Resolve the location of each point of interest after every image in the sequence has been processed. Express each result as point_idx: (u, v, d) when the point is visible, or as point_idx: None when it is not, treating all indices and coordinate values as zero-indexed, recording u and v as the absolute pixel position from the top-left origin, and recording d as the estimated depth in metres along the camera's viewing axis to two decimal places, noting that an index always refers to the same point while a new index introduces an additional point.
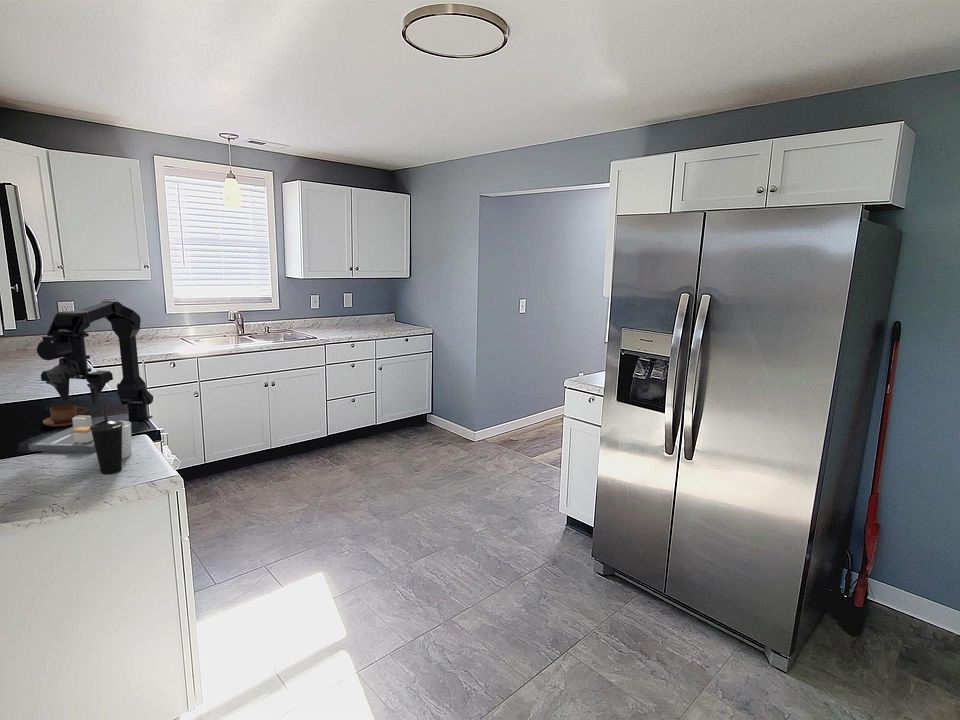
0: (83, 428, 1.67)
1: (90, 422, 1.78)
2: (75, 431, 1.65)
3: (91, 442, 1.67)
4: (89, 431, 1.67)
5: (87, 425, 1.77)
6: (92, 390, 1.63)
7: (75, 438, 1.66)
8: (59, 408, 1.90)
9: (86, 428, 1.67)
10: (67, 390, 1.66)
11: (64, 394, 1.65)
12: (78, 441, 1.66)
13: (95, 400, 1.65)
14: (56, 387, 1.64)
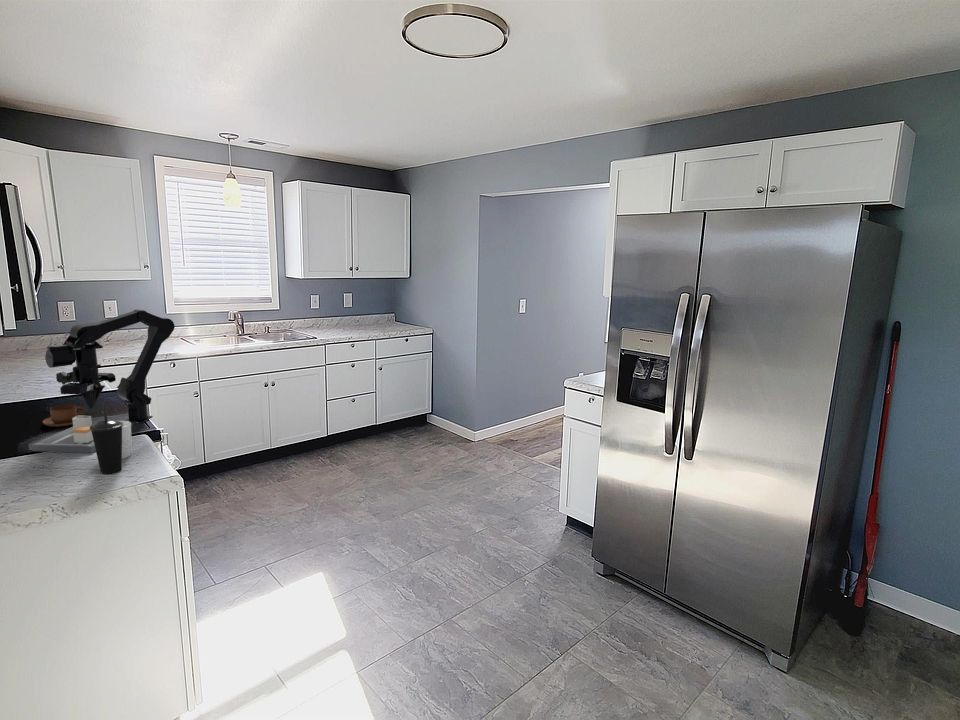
0: (83, 428, 1.67)
1: (90, 422, 1.78)
2: (75, 431, 1.65)
3: (91, 442, 1.67)
4: (89, 431, 1.67)
5: (87, 425, 1.77)
6: None
7: (75, 438, 1.66)
8: (59, 408, 1.90)
9: (86, 428, 1.67)
10: None
11: None
12: (78, 441, 1.66)
13: (89, 405, 1.81)
14: None
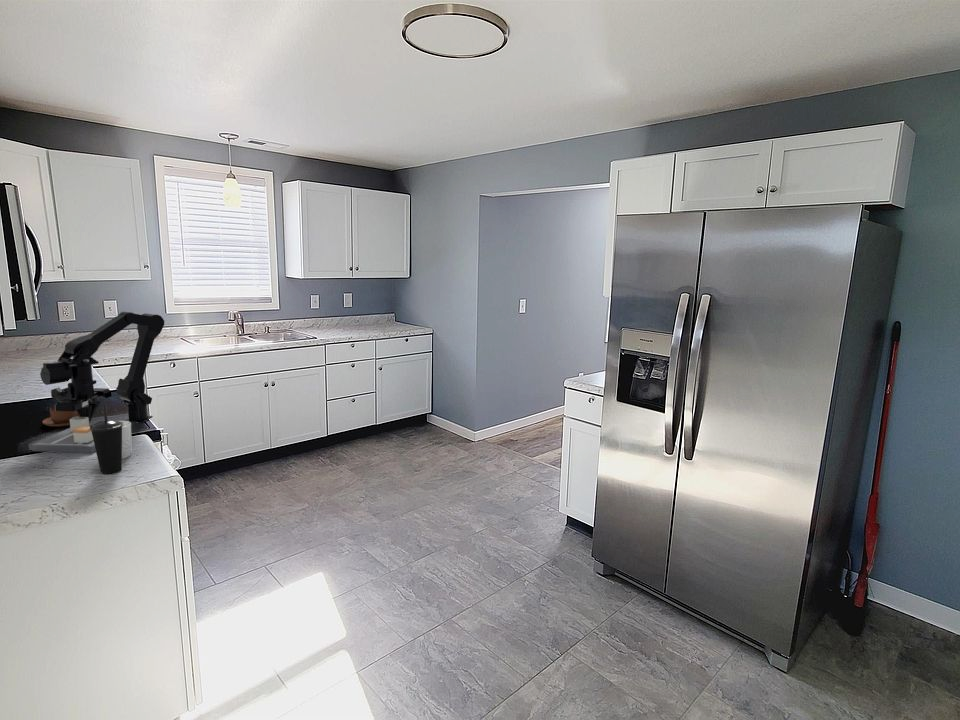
0: (83, 428, 1.67)
1: (87, 423, 1.77)
2: (75, 431, 1.65)
3: (91, 442, 1.67)
4: (89, 431, 1.67)
5: (84, 426, 1.76)
6: None
7: (75, 438, 1.66)
8: None
9: (86, 428, 1.67)
10: None
11: None
12: (78, 441, 1.66)
13: None
14: None
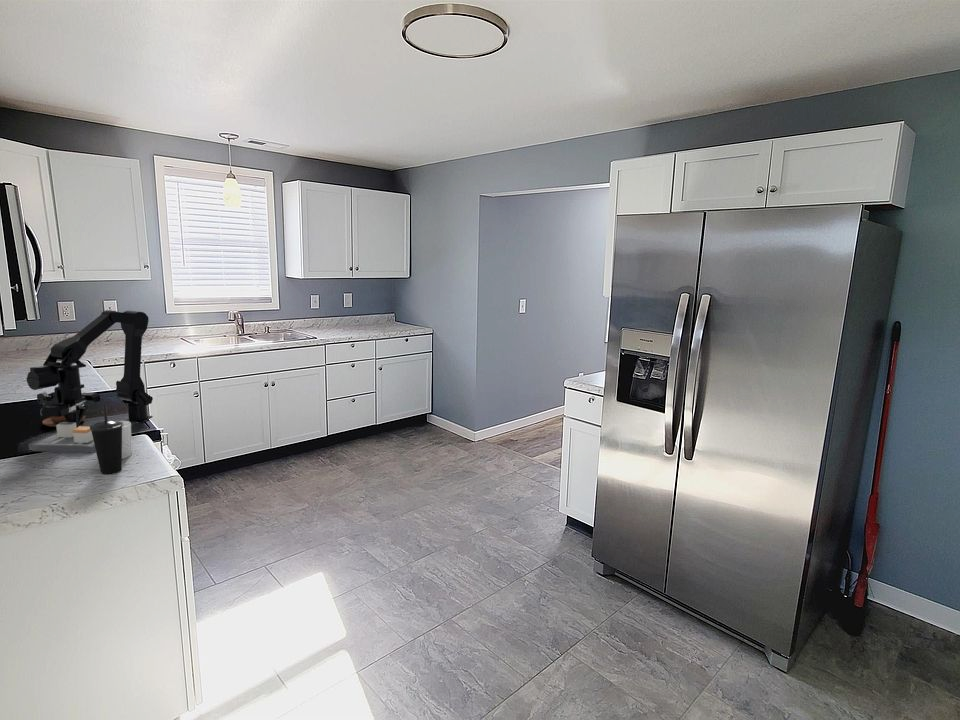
0: (83, 428, 1.67)
1: None
2: (75, 431, 1.65)
3: (91, 442, 1.67)
4: (89, 431, 1.67)
5: (72, 432, 1.70)
6: None
7: (75, 438, 1.66)
8: None
9: (86, 428, 1.67)
10: None
11: None
12: (78, 441, 1.66)
13: None
14: None
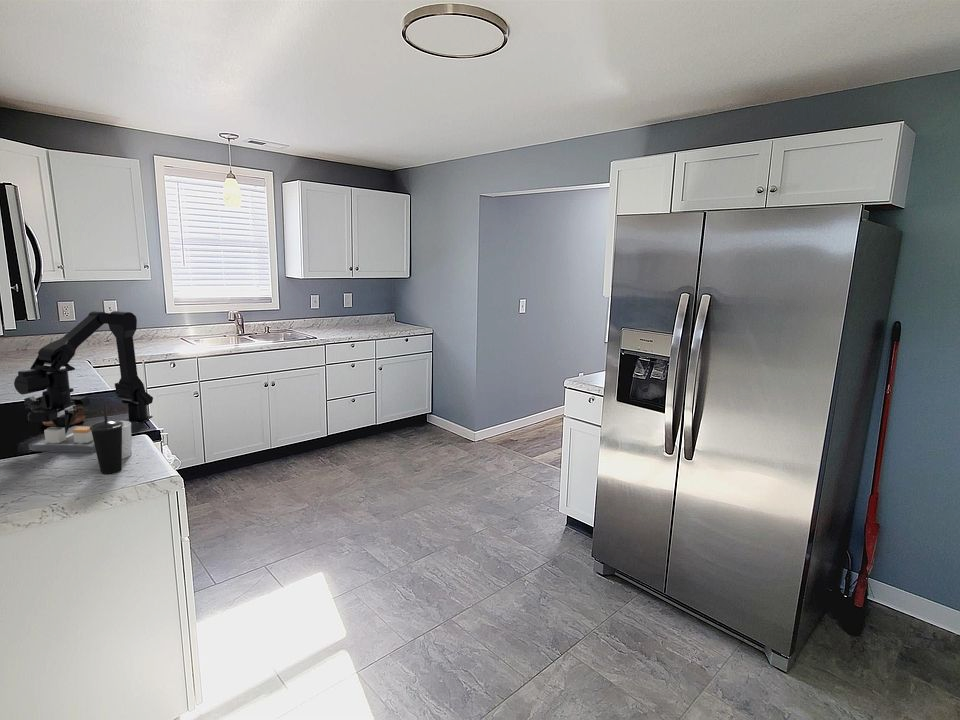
0: (83, 428, 1.67)
1: (64, 434, 1.67)
2: (75, 431, 1.65)
3: (91, 442, 1.67)
4: (89, 431, 1.67)
5: (60, 437, 1.65)
6: None
7: (75, 438, 1.66)
8: None
9: (86, 428, 1.67)
10: None
11: None
12: (78, 441, 1.66)
13: None
14: None
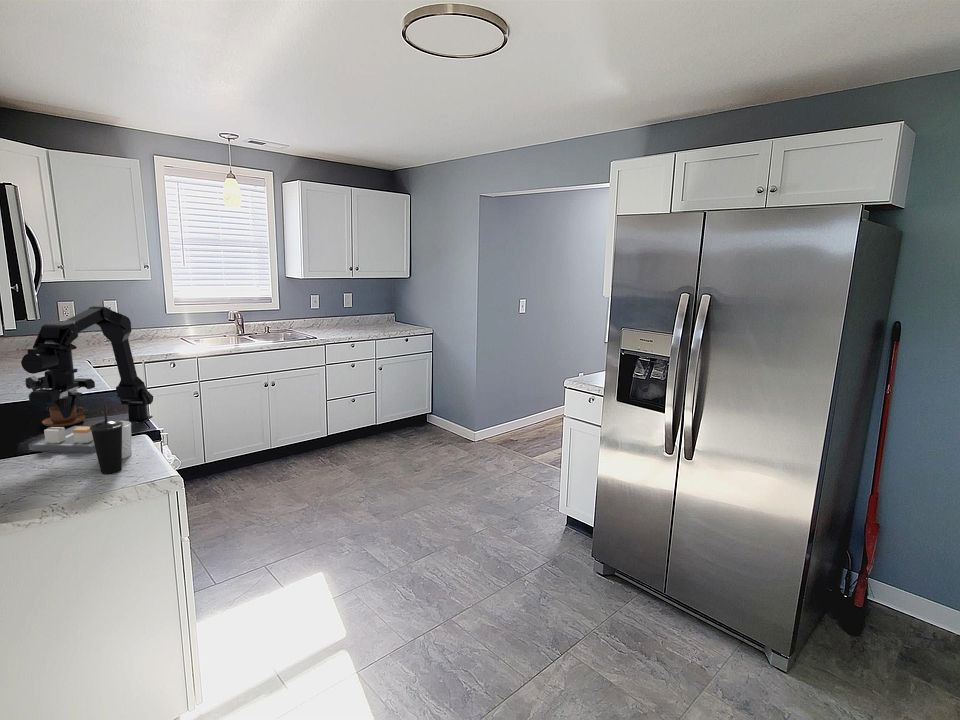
0: (83, 428, 1.67)
1: (64, 434, 1.67)
2: (75, 431, 1.65)
3: (91, 442, 1.67)
4: (89, 431, 1.67)
5: (60, 437, 1.65)
6: None
7: (75, 438, 1.66)
8: None
9: (86, 428, 1.67)
10: None
11: None
12: (78, 441, 1.66)
13: (63, 414, 1.59)
14: None
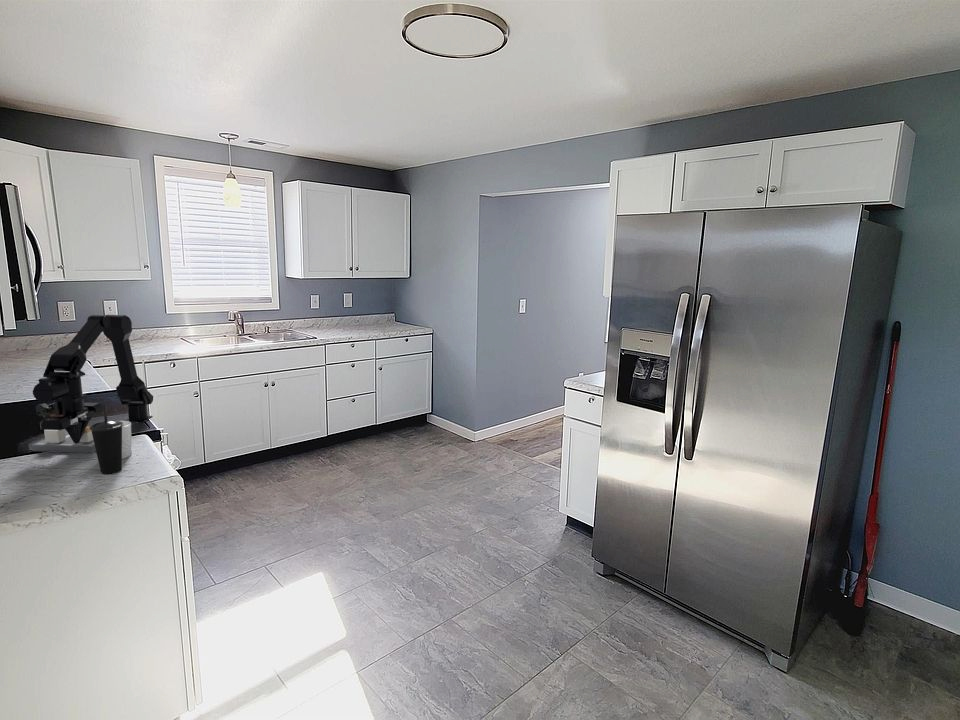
0: None
1: (64, 434, 1.67)
2: None
3: (91, 442, 1.67)
4: (90, 431, 1.67)
5: (60, 437, 1.65)
6: None
7: None
8: None
9: (87, 428, 1.67)
10: None
11: None
12: (79, 441, 1.66)
13: (73, 439, 1.63)
14: None
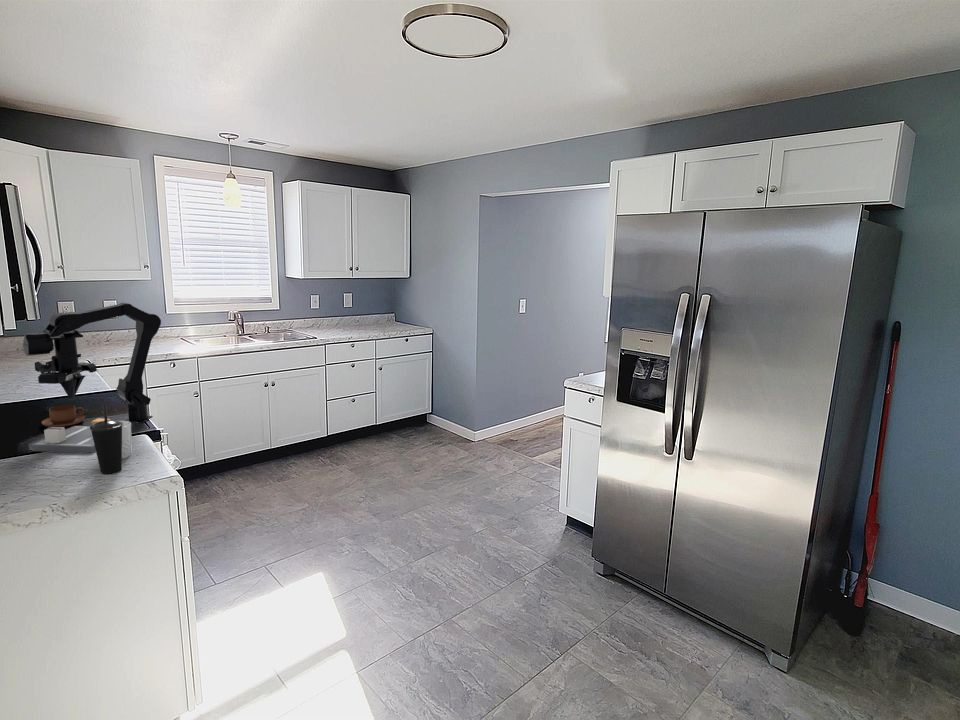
0: (101, 420, 1.75)
1: (64, 434, 1.67)
2: (94, 422, 1.73)
3: (91, 442, 1.67)
4: None
5: (60, 437, 1.65)
6: None
7: None
8: (58, 409, 1.89)
9: None
10: None
11: None
12: None
13: (69, 395, 1.77)
14: None
